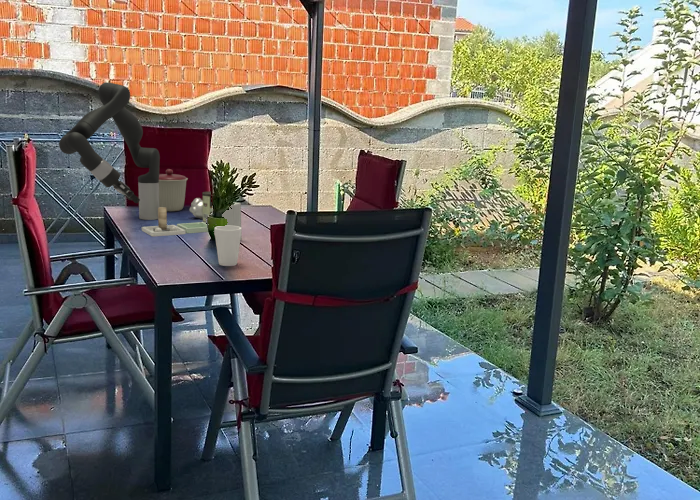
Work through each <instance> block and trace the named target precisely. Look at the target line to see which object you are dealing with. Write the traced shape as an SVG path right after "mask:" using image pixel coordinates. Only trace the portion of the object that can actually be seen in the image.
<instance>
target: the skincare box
mask: <svg viewBox="0 0 700 500" xmlns="http://www.w3.org/2000/svg"><path fill="white" fill-rule="evenodd" d="M234 203H235V204H234V205H231V206H230V207H231V208H232V209H231V208H230V207H229V210H226V211H225V212H224V213H223V214H222V217H224V218H225V219H227V222H228V223H227V225H230V226H239V227H241V228H242V206H241V205H242V204H241V202H234ZM242 236H243V235H241V238H240V241H241V240H242V239H243V238H242Z"/></svg>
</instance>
